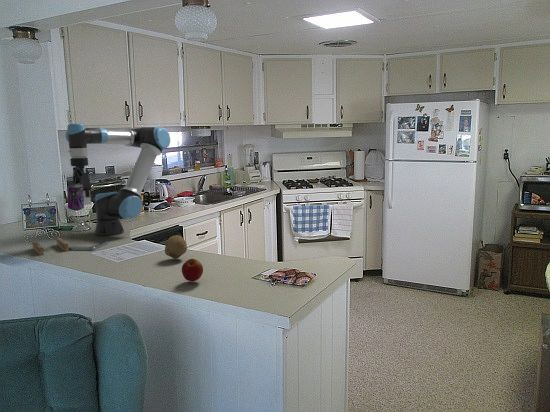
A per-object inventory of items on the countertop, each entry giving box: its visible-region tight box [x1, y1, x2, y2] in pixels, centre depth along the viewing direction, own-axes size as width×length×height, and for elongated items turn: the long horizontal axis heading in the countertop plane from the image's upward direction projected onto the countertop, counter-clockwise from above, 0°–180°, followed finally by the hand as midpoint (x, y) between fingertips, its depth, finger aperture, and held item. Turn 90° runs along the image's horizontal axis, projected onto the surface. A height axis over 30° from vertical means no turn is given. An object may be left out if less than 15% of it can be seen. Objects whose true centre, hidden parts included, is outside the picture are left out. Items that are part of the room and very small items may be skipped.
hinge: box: [68, 240, 108, 252], centre depth 213 cm, size 11×19×1 cm, turn 128°
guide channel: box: [31, 237, 70, 257], centre depth 211 cm, size 12×16×4 cm
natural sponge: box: [164, 235, 188, 259], centre depth 192 cm, size 9×9×10 cm
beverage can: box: [66, 182, 85, 211], centre depth 217 cm, size 7×7×12 cm
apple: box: [181, 258, 204, 282], centre depth 163 cm, size 8×8×8 cm
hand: (83, 202), depth 215 cm, fingers open, 13 cm apart
